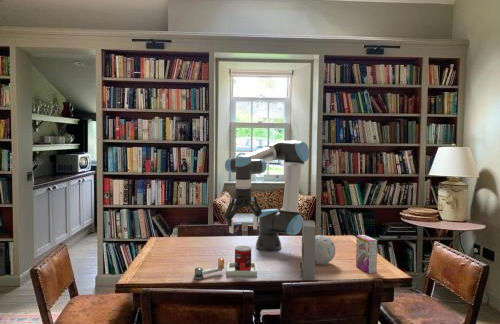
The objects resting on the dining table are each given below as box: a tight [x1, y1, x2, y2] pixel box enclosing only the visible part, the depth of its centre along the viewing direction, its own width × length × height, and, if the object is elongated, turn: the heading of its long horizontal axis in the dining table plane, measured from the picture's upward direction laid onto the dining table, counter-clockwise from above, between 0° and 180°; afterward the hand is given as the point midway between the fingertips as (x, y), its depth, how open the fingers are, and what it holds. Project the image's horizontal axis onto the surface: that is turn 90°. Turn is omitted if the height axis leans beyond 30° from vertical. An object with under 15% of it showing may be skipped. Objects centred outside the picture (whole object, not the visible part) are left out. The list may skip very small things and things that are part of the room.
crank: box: [194, 257, 225, 277], centre depth 175 cm, size 15×4×6 cm, turn 125°
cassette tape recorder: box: [299, 219, 316, 281], centre depth 177 cm, size 14×6×25 cm, turn 175°
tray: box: [226, 261, 258, 278], centre depth 181 cm, size 14×13×3 cm
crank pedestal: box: [193, 274, 204, 281], centre depth 171 cm, size 4×4×1 cm
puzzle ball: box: [315, 234, 336, 266], centre depth 194 cm, size 15×15×15 cm
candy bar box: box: [355, 234, 378, 274], centre depth 186 cm, size 11×5×16 cm, turn 17°
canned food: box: [234, 245, 252, 271], centre depth 181 cm, size 8×8×11 cm
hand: (243, 230), depth 182 cm, fingers open, 13 cm apart
